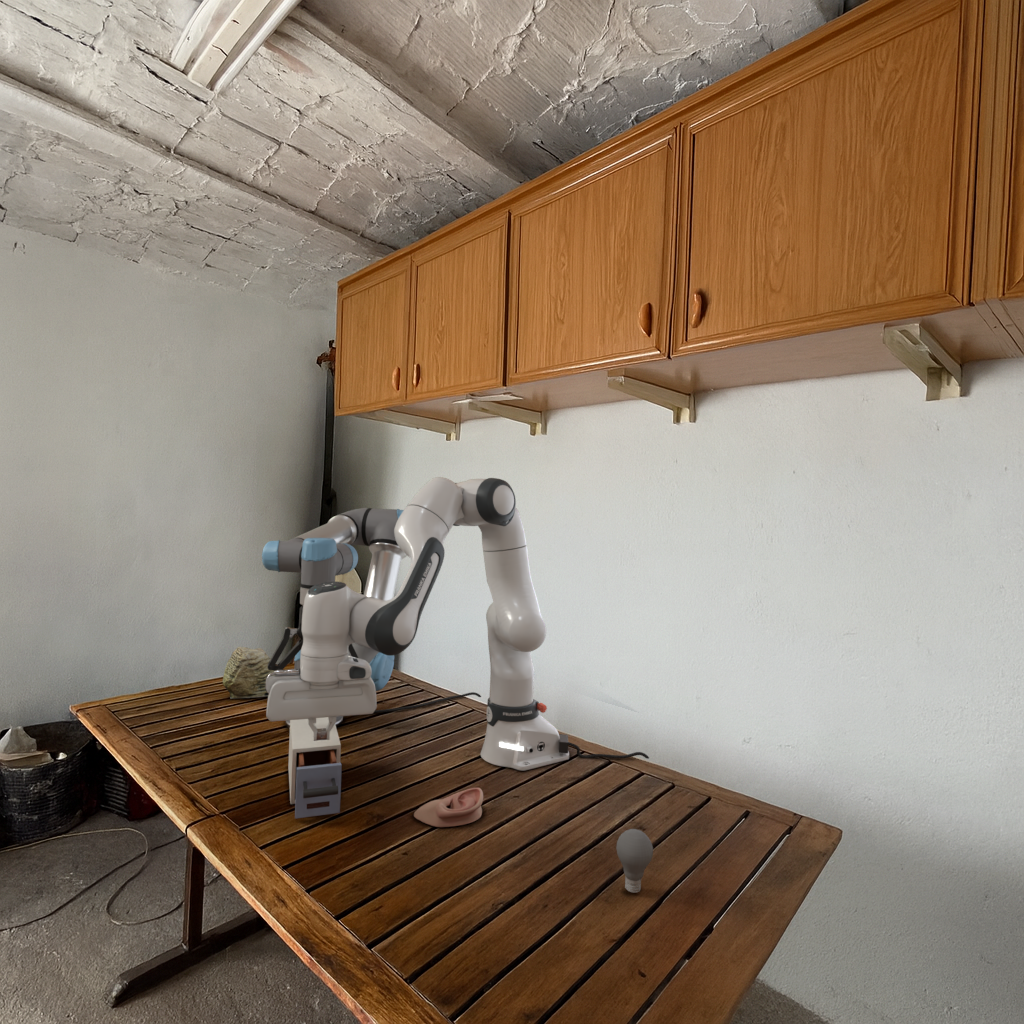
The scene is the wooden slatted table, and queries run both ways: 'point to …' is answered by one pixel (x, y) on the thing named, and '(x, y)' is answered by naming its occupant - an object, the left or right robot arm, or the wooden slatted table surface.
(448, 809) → the anatomical model
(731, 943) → the wooden slatted table surface
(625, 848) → the light bulb
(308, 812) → the drawer
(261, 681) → the fossil
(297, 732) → the cabinet
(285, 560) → the left robot arm
